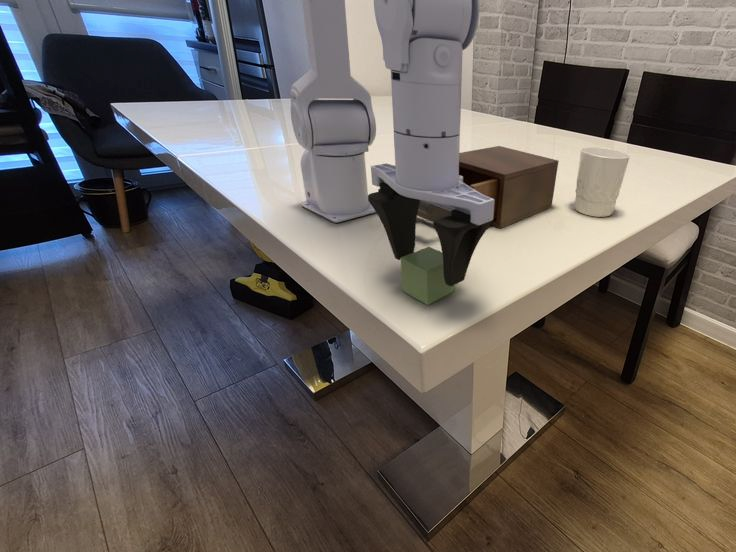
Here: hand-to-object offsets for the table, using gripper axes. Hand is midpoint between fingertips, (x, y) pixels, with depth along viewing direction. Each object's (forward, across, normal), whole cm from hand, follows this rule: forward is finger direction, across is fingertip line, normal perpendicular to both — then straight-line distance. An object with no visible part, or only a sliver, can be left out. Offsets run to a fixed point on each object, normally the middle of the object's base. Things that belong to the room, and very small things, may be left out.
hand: (428, 268), depth 42 cm
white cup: (+3, 0, -39) cm, 39 cm away
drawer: (+2, +12, -17) cm, 21 cm away
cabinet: (+3, +12, -27) cm, 30 cm away
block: (+3, 0, 0) cm, 3 cm away
